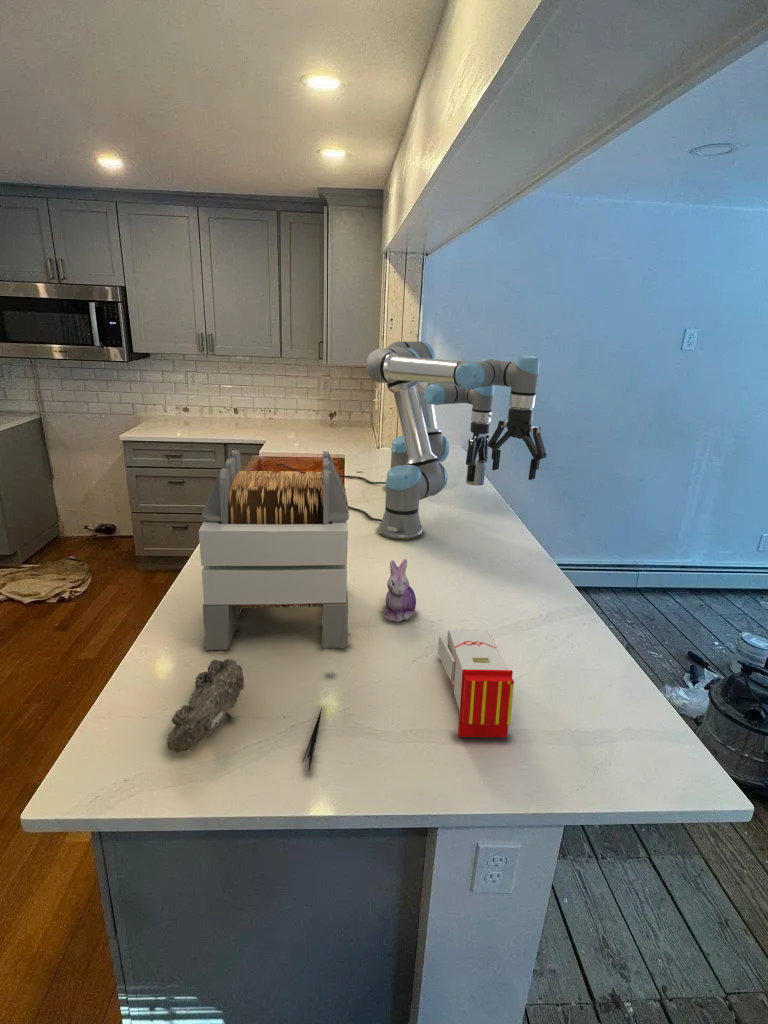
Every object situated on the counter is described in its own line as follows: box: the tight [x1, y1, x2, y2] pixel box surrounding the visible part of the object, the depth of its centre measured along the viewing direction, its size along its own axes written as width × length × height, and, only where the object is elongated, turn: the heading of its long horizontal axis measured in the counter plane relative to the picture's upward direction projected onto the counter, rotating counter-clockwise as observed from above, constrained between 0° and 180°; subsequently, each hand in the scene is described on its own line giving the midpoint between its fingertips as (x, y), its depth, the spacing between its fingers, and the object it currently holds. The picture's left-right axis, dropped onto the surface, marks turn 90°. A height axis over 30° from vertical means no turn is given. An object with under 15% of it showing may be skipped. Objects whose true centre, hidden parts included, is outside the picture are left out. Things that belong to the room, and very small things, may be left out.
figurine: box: [384, 558, 417, 623], centre depth 145 cm, size 9×10×15 cm
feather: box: [301, 673, 332, 771], centre depth 108 cm, size 2×28×2 cm
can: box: [465, 458, 487, 487], centre depth 225 cm, size 7×7×9 cm
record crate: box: [198, 449, 350, 651], centre depth 138 cm, size 34×33×41 cm
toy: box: [437, 628, 515, 738], centre depth 117 cm, size 12×13×30 cm
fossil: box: [166, 658, 245, 754], centre depth 106 cm, size 22×10×15 cm
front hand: (513, 474), depth 182 cm, fingers open, 13 cm apart
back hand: (475, 479), depth 227 cm, fingers closed on can, 7 cm apart
